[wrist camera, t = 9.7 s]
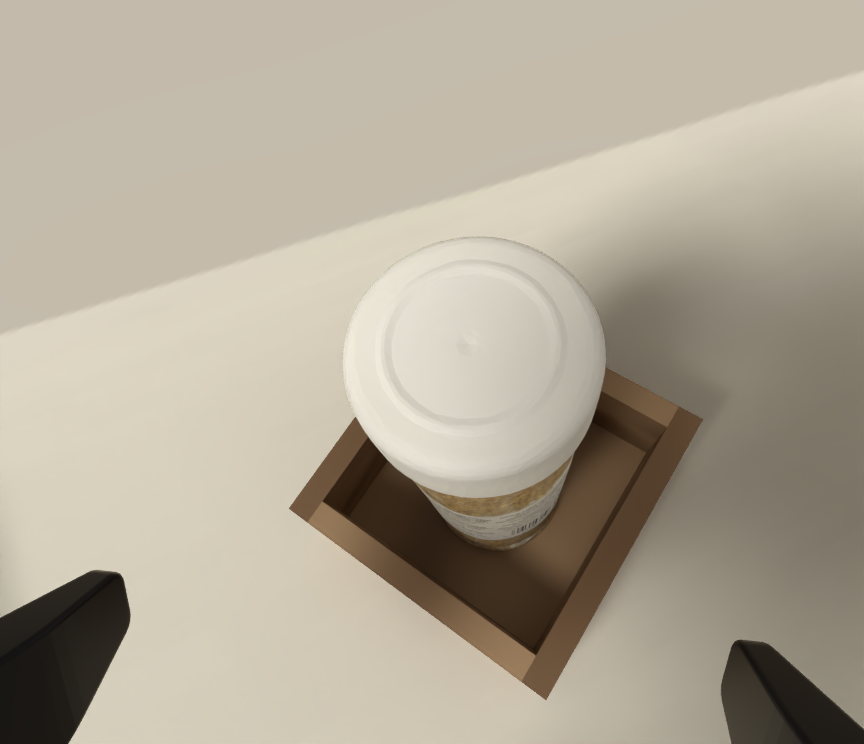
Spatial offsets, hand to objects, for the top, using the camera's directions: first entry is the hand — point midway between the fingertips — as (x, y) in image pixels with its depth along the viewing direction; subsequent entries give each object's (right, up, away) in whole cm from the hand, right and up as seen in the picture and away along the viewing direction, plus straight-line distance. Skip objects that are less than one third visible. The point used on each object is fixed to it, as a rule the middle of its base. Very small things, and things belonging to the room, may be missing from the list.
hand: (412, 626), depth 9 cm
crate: (+3, -1, +14) cm, 15 cm away
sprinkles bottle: (+3, -1, +14) cm, 14 cm away
